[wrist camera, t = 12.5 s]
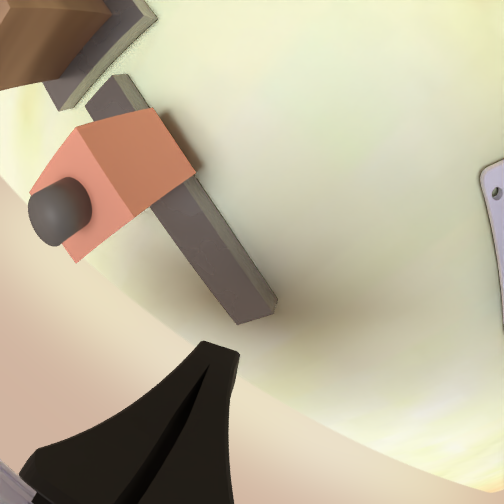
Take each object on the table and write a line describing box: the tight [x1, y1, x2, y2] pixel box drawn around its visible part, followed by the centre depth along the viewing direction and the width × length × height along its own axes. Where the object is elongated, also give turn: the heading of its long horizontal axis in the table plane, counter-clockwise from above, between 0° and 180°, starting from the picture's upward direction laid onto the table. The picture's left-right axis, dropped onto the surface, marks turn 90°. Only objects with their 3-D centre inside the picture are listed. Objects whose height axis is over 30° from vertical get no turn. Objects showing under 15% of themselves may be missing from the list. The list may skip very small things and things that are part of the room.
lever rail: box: [85, 74, 278, 325], centre depth 13 cm, size 12×2×1 cm, turn 33°
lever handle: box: [28, 107, 196, 263], centre depth 9 cm, size 3×4×5 cm
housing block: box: [0, 0, 113, 91], centre depth 7 cm, size 4×4×5 cm
